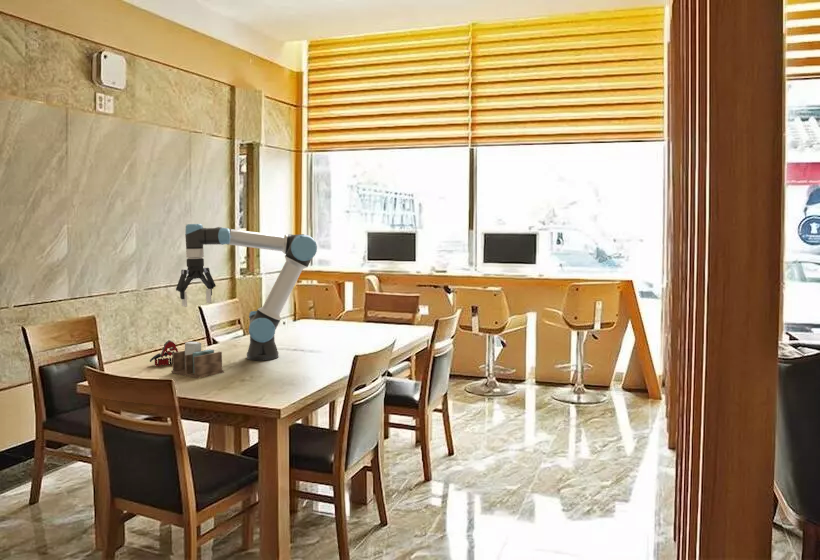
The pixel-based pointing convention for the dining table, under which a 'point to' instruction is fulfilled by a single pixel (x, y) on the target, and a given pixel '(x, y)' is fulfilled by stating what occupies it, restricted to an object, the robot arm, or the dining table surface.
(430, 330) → the dining table surface
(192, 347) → the skincare box
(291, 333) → the dining table surface
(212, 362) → the rack
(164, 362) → the logo sign
